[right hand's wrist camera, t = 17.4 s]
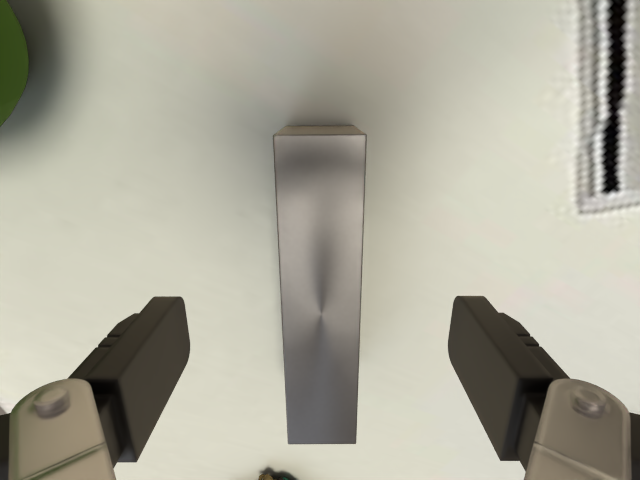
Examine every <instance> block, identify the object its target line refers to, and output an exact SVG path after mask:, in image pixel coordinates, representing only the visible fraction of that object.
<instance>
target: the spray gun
mask: <svg viewBox="0 0 640 480" xmlns="http://www.w3.org/2000/svg"><path fill="white" fill-rule="evenodd" d="M262 478H263V480H273V477H271V476H270V475H269V474H266V475H264V474H261V475H260V476H259V479H258V480H262ZM274 480H276V479H274ZM277 480H288V479H287V478H285V477H284V478H281V477H280V478H279V479H277Z"/></svg>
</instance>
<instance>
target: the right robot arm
mask: <svg viewBox="0 0 640 480" xmlns="http://www.w3.org/2000/svg"><path fill="white" fill-rule="evenodd" d="M448 352H449V358H450V361H451V363H452V366H453V368H454V370H455V372H456V373H457V375H458V377H459V379H460V381H461V383H462V385H463V387H464V389H465V391H466V393H467V395H468V397H469V399H470V401H471V403H472V405H473V407H474V409H475V411H476V413H477V415H478V417H479V419H480V421H481V423H482V425H483V427H484V429H485V431H486V433H487V435H488V437H489V439H490V441H491V443H492V445H493V447H494V449H495V451H496V453H497V455H498V457H499V459H500V461H520V462H521V464H522V466H523V467H524V469H525V471H526V473H525V477H524V480H640V415H638V414H634V413H629V412H628V409H627V408H626V407H625V405H624V404H623V403H622V402H621V401H620V400H619V399H618V398H616V397H615V396H614V395H612V394H611V393H609V392H608V391H606V390H604V389H602V388H600V387H598V386H596V385H594V384H591V383H588V382H585V381H581V380H577V379H570V378H569V377H568V376H567V374H566V373H565V372H564V371H563V370H562V369H561V368H560V367H559V366H558V365H557V363H556V362H555V361H554V360H553V359H552V358H551V357H550V356H549V355H548V354H547V352H546V351H545V350H544V349H543V348H542V347H539V344H538V342H537V341H536V340H535V339H534V338H533V337H530V334H529V333H528V331H527V330H526V329H525V328H524V327H523V326H522V325H521V324H520V323H519V322H518V321H516V320H514V319H513V318H511V317H509V316H508V315H506V314H504V313H498V312H497V311H496V309H495V308H494V307H493V306H492V305H491V304H490V302H489V301H488V300H487V299H486V298H485V297H484V296H457V297H456V298H455V300H454V303H453V310H452V317H451V324H450V331H449V339H448ZM189 353H190V339H189V332H188V325H187V318H186V311H185V304H184V300H183V299H182V297H153V298H152V299H151V300H150V301H149V303H148V304H147V305H146V306H145V307H144V308H143V310H142V311H141V312H140V313H134V314H133V315H131V316H129V317H128V318H126V319H124V320H123V321H121V322H120V323H118V324H117V325H116V326H115V327H114V328H113V329H112V331H111V332H110V333H109V334H108V335H107V338H104V339H103V340H102V341H101V343H100V344H99V345H98V348H95V349H94V350H93V351H92V352H91V353H90V355H89V356H88V357H87V358H86V359H85V360H84V361H83V362H82V363H81V364H80V365H79V367H78V368H77V369H76V370H75V371H74V372H73V373H72V374H71V375H70V376H69V377H68V379H63V380H59V381H55V382H52V383H49V384H46V385H44V386H42V387H40V388H38V389H36V390H34V391H32V392H31V393H29V394H28V395H26V396H25V397H24V398H22V399H21V400H20V401H19V402H18V403H17V404H16V405H15V407H14V408H13V409H12V412H11V413H9V414H4V415H0V480H116V477H115V473H114V470H113V468H114V467H115V465H116V463H117V462H137V460H138V458H139V456H140V454H141V453H142V451H143V449H144V447H145V445H146V443H147V441H148V439H149V437H150V435H151V433H152V431H153V429H154V427H155V425H156V423H157V421H158V419H159V417H160V415H161V413H162V411H163V409H164V407H165V405H166V404H167V402H168V400H169V398H170V396H171V394H172V392H173V390H174V388H175V386H176V384H177V382H178V380H179V378H180V376H181V374H182V372H183V370H184V368H185V366H186V364H187V362H188V358H189Z"/></svg>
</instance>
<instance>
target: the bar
mask: <svg viewBox="0 0 640 480" xmlns="http://www.w3.org/2000/svg"><path fill="white" fill-rule="evenodd" d="M366 138H367V135H366V134H365V133H364V132H362V131H361V130H359V129H358V128H356V127H355V126H285V127H284V128H283V129H281V130H280V131H278V132H277V133H276V134H274V135H273V146H274V167H275V187H276V208H277V228H278V249H279V269H280V290H281V310H282V331H283V352H284V372H285V393H286V413H287V434H288V444H356V432H357V403H358V373H359V344H360V315H361V285H362V256H363V226H364V197H365V168H366Z"/></svg>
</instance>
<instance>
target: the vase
mask: <svg viewBox="0 0 640 480" xmlns="http://www.w3.org/2000/svg"><path fill="white" fill-rule="evenodd" d="M28 73H29V56H28V50H27V44H26V40H25V37H24V34H23V31H22V28H21V26H20V23H19V22H18V20H17V18H16V16H15V14H14V12H13V10H12V8H11V7H10V5H9V4H8V2H7V1H6V0H0V126H1V125H2V124H3V123H4V122H5V120H6V119H7V118H8V117H9V116H10V114H11V113H12V111H13V109H14V108H15V106H16V104H17V102H18V101H19V99H20V97H21V95H22V93H23V91H24V89H25V86H26V82H27V77H28Z"/></svg>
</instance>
